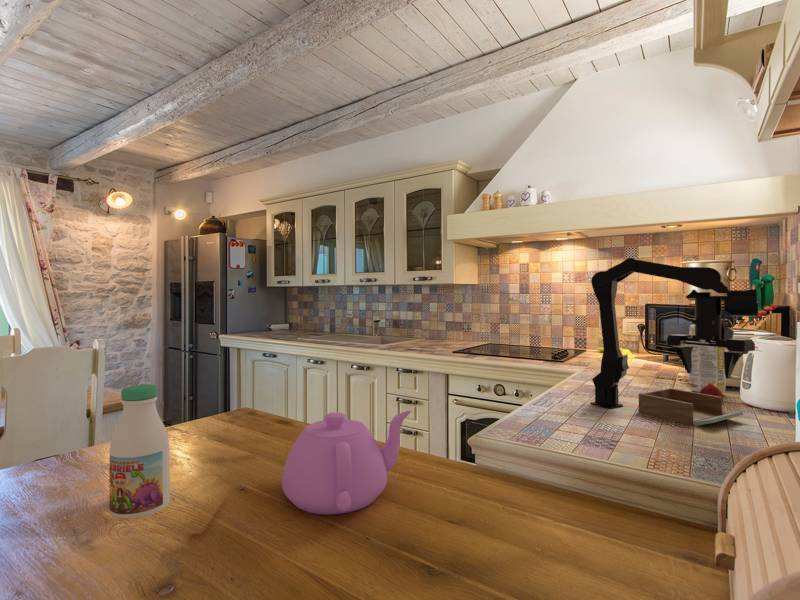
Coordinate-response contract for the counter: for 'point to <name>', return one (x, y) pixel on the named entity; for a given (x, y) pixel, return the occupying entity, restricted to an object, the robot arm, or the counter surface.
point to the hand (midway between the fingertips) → (707, 375)
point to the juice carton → (706, 366)
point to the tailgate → (718, 418)
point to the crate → (680, 405)
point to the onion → (711, 390)
